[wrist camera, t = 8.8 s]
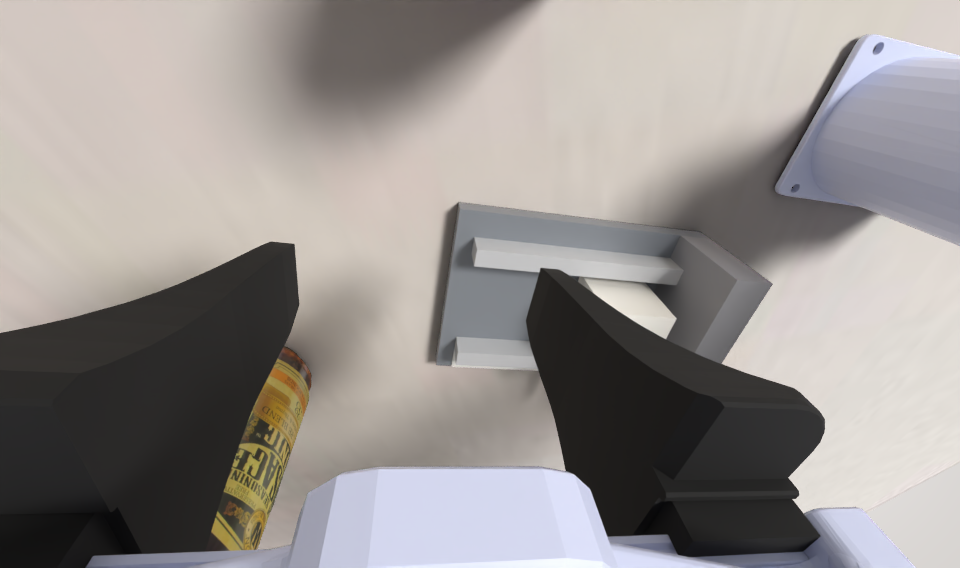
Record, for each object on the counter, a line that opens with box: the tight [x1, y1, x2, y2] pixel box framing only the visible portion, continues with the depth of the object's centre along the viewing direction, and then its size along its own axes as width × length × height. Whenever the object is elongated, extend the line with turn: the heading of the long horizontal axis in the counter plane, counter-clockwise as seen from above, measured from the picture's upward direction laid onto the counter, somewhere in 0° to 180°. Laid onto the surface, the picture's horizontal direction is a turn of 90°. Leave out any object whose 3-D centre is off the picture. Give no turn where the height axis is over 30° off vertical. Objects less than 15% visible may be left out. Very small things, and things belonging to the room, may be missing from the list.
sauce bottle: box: [206, 346, 311, 552], centre depth 18 cm, size 6×6×20 cm
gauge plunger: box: [578, 276, 677, 339], centre depth 24 cm, size 4×8×4 cm, turn 170°
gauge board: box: [436, 202, 772, 371], centre depth 23 cm, size 15×11×6 cm
